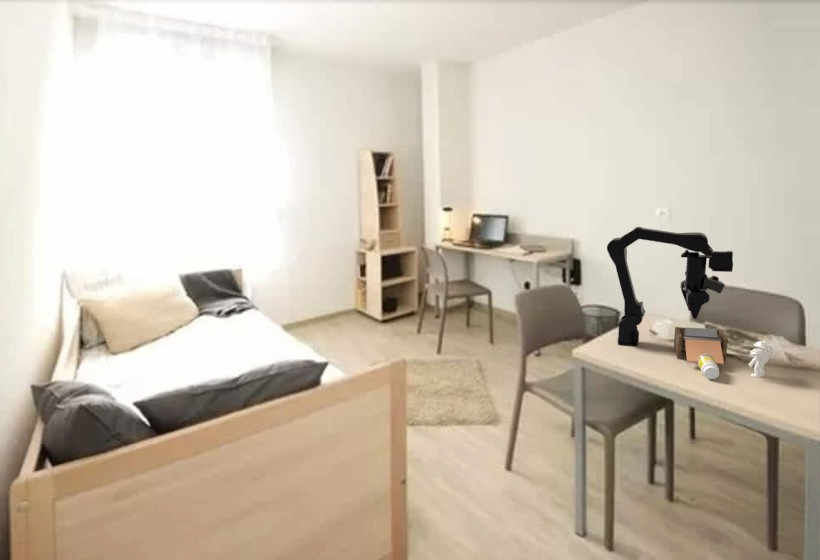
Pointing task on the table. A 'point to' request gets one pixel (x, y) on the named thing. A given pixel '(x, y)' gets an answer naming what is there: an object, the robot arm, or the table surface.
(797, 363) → the table surface
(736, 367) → the table surface
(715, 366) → the supplement bottle
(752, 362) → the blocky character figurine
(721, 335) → the stand
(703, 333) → the flap
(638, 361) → the table surface
